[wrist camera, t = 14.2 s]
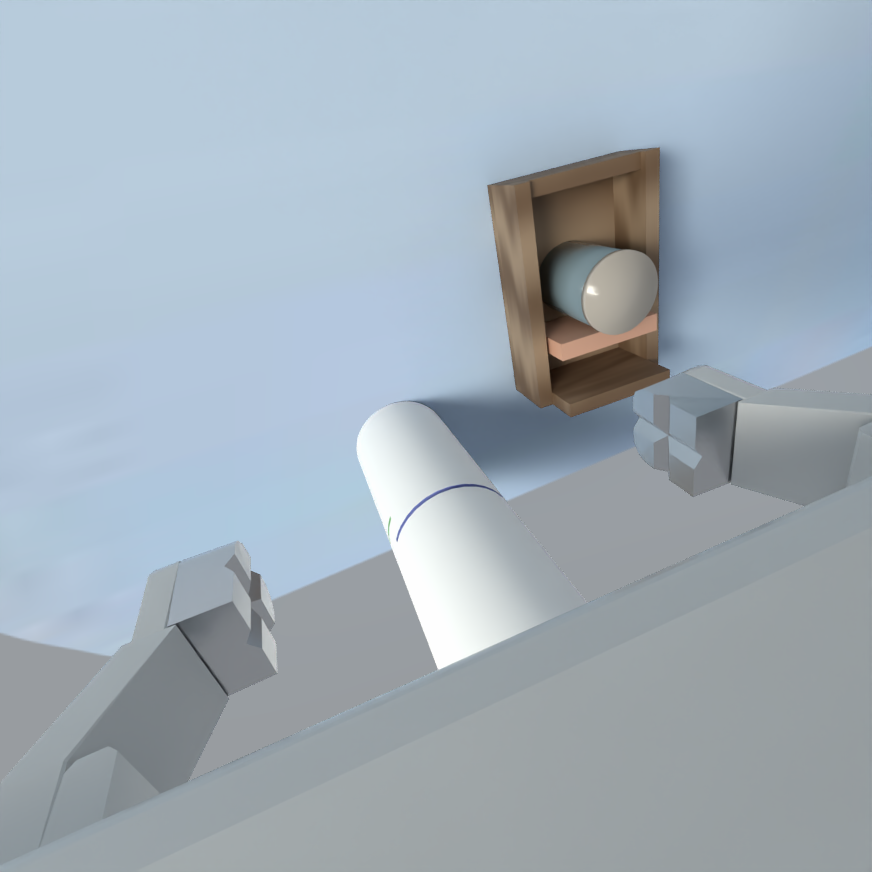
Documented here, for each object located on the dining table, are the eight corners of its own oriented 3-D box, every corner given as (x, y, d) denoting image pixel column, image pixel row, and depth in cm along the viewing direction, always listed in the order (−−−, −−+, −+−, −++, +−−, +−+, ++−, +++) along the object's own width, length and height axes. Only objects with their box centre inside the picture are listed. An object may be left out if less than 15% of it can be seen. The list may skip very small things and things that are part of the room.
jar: (532, 249, 36) (583, 262, 30) (598, 231, 37) (659, 240, 31) (539, 320, 39) (587, 344, 33) (600, 302, 39) (657, 322, 34)
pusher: (528, 327, 38) (561, 344, 34) (615, 300, 40) (657, 313, 35) (530, 342, 39) (562, 361, 35) (615, 315, 40) (656, 330, 36)
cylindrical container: (460, 417, 41) (689, 675, 19) (422, 493, 43) (593, 804, 21) (378, 388, 38) (543, 658, 16) (342, 471, 40) (446, 810, 18)
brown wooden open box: (487, 185, 34) (534, 185, 28) (619, 151, 36) (688, 144, 30) (516, 389, 41) (558, 421, 36) (625, 352, 43) (681, 378, 37)
